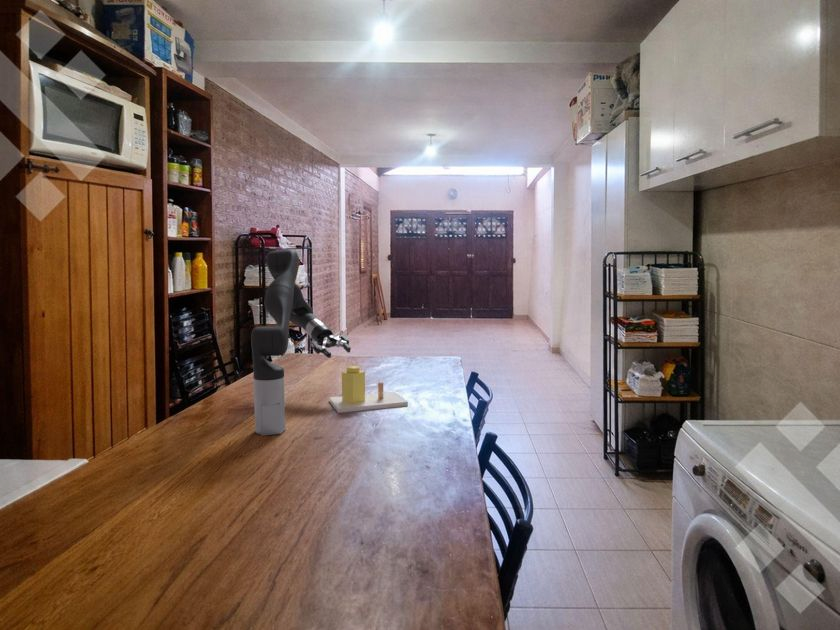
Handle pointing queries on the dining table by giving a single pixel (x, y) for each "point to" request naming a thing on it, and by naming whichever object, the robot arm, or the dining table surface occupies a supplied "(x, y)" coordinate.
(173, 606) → the dining table surface
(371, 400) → the plate
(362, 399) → the tall yellow stud brick
